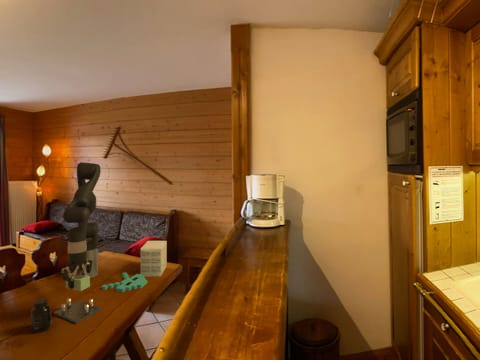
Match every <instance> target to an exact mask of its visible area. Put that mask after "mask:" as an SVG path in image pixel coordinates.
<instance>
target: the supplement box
mask: <svg viewBox="0 0 480 360" xmlns="http://www.w3.org/2000/svg"><path fill="white" fill-rule="evenodd" d="M167 242H168V241H167V240H147V241H146V242H145V243H144V244H143V246H141V247H140V274H142V275H143V276H144V277H161V276H162V275H163V273H164V271H165V269H166V268H167V258H168V257H167V255H168V254H167V246H168V245H167V244H168V243H167Z"/></svg>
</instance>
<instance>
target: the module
mask: <svg viewBox="0 0 480 360" xmlns="http://www.w3.org/2000/svg"><path fill="white" fill-rule="evenodd" d="M64 281H65V280H64ZM73 281H74V288H73V289H72V290H74V291H78V292H82V291H84V290H86V289H88V288H90V287H91V278H90V276H87V275H81V274H80V273H76V275H75V276H74V279H73ZM65 289H69V290H71V289H70V288H69V287H68V281H65Z"/></svg>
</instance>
